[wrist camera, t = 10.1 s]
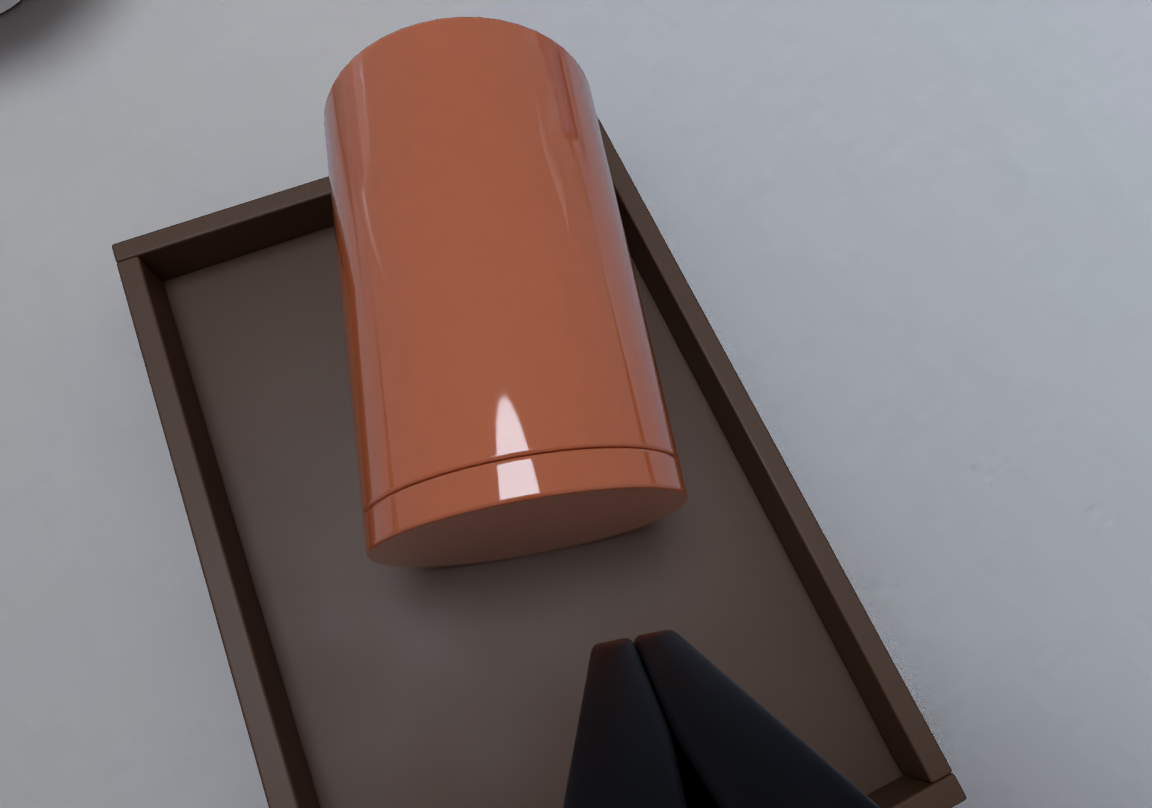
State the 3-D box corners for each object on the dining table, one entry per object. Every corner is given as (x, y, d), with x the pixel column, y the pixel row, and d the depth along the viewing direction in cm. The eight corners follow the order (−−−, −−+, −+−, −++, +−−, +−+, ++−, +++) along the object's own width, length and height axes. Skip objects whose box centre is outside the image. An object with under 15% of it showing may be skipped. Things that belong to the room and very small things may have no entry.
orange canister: (732, 466, 14) (611, 8, 17) (337, 529, 12) (294, 22, 16) (650, 534, 20) (575, 193, 24) (387, 580, 19) (348, 213, 22)
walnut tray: (919, 783, 19) (969, 798, 17) (383, 1080, 16) (361, 1143, 14) (581, 143, 25) (586, 93, 23) (151, 285, 22) (110, 244, 20)
